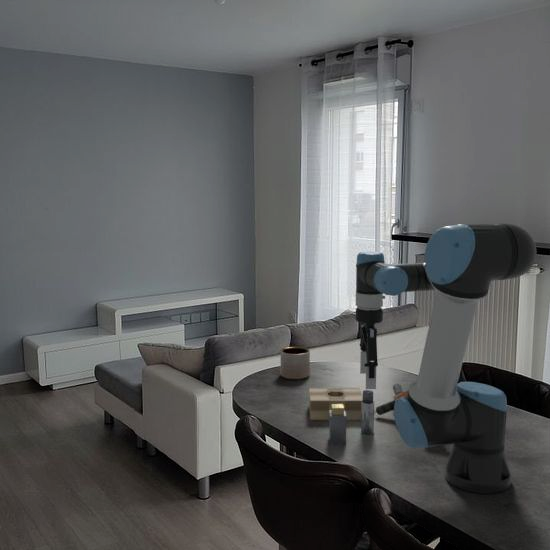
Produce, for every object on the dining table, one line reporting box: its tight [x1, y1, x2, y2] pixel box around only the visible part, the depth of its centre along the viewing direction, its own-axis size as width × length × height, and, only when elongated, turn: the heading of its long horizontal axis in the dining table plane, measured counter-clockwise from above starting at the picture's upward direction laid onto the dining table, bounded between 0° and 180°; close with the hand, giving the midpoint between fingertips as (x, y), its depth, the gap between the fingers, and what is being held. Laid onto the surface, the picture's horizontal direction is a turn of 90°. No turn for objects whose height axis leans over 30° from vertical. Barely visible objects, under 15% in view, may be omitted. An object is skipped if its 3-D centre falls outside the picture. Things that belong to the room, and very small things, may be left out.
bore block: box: [308, 387, 363, 421], centre depth 200 cm, size 12×16×6 cm
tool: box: [374, 383, 408, 416], centre depth 193 cm, size 4×27×30 cm
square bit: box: [328, 404, 347, 445], centre depth 178 cm, size 4×4×10 cm
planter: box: [279, 346, 311, 381], centre depth 237 cm, size 11×11×10 cm
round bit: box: [360, 389, 375, 436], centre depth 184 cm, size 4×4×12 cm
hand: (367, 380), depth 183 cm, fingers open, 13 cm apart
